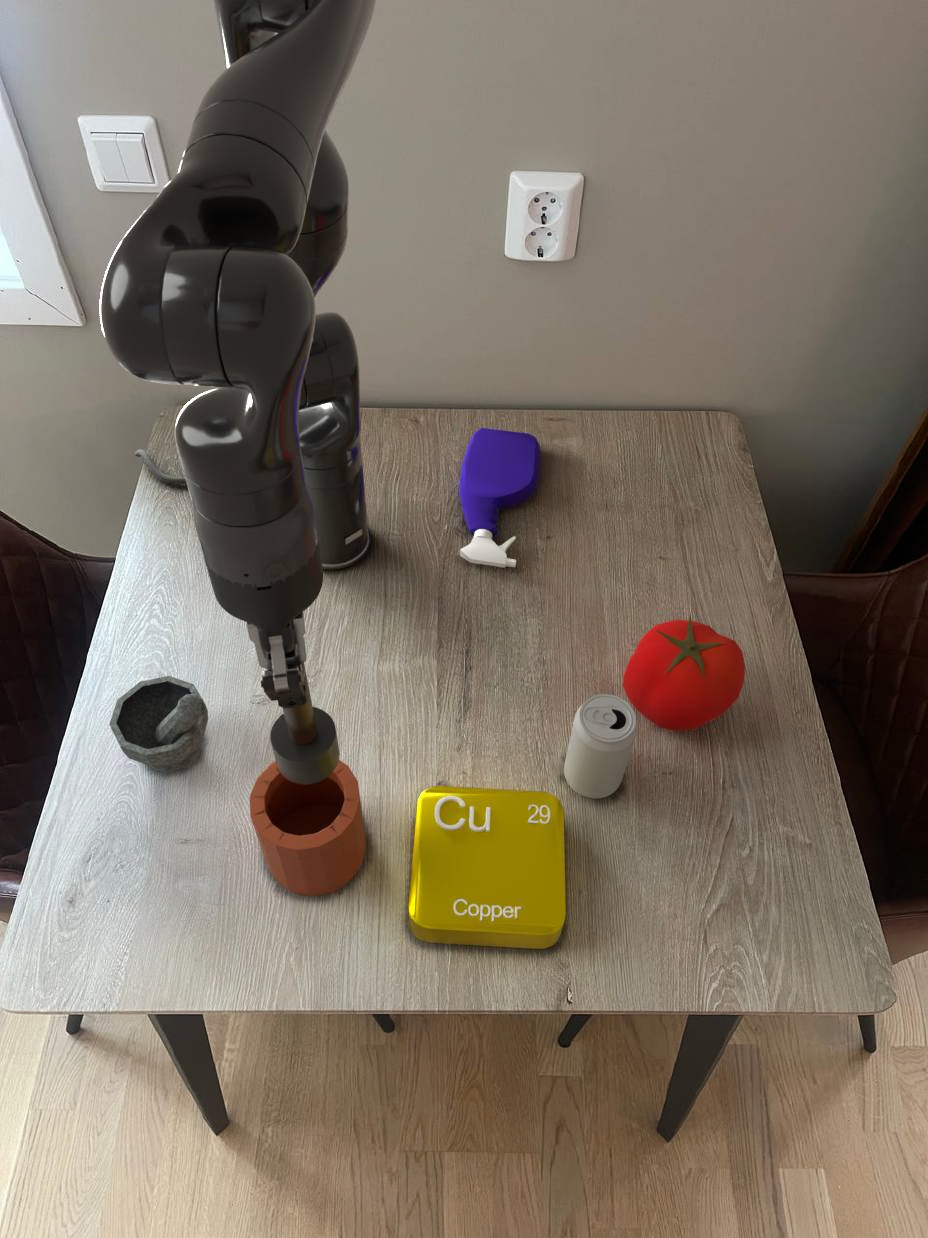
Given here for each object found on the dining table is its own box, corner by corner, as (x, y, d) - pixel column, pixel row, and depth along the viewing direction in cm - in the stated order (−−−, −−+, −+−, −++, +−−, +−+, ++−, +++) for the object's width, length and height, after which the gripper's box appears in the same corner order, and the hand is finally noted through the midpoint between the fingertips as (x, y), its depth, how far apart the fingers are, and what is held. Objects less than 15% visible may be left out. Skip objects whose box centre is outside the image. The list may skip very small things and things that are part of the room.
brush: (263, 763, 82) (232, 656, 70) (304, 719, 85) (282, 609, 72) (311, 796, 80) (288, 692, 68) (352, 750, 83) (337, 642, 71)
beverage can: (618, 807, 99) (637, 750, 90) (558, 795, 100) (572, 737, 91) (623, 756, 103) (642, 696, 94) (566, 745, 104) (580, 685, 95)
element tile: (407, 942, 90) (405, 925, 86) (419, 802, 99) (418, 781, 95) (561, 951, 90) (567, 934, 86) (559, 810, 99) (564, 789, 95)
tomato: (607, 662, 111) (623, 601, 102) (716, 656, 112) (741, 595, 103) (628, 751, 104) (646, 694, 95) (744, 743, 105) (773, 686, 96)
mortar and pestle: (109, 768, 101) (76, 708, 91) (156, 701, 106) (129, 637, 97) (200, 802, 98) (176, 744, 89) (243, 731, 104) (224, 670, 95)
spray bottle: (469, 424, 133) (442, 550, 118) (545, 433, 132) (527, 561, 118) (468, 439, 135) (442, 565, 121) (543, 448, 135) (525, 576, 120)
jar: (245, 859, 95) (226, 809, 86) (311, 786, 100) (299, 733, 91) (322, 916, 91) (310, 870, 83) (385, 837, 97) (381, 787, 88)
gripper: (200, 472, 64) (241, 626, 78) (201, 628, 56) (247, 770, 69) (308, 460, 65) (330, 614, 79) (326, 612, 57) (348, 755, 70)
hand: (291, 687), depth 74 cm, fingers closed on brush, 2 cm apart
